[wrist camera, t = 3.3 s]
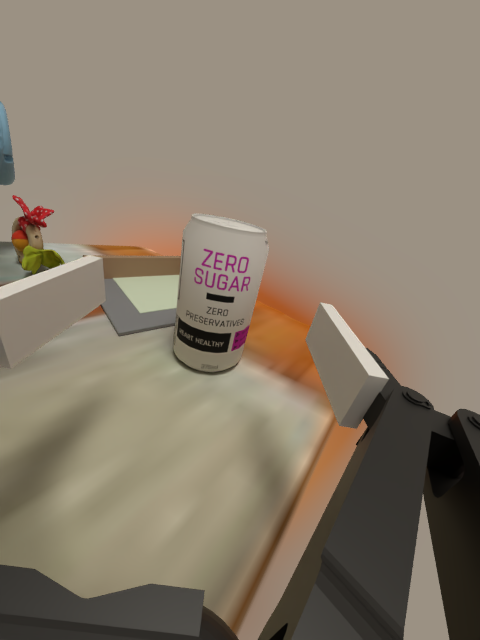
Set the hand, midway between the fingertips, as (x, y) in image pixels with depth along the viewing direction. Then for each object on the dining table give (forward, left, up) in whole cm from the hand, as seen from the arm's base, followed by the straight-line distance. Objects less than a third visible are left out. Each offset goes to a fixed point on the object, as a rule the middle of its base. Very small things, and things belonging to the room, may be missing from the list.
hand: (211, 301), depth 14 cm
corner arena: (-24, +7, -11) cm, 27 cm away
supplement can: (-8, +6, -12) cm, 15 cm away
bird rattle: (-39, -8, -12) cm, 41 cm away
